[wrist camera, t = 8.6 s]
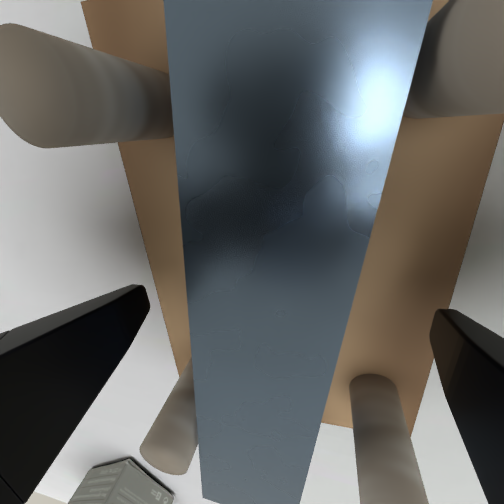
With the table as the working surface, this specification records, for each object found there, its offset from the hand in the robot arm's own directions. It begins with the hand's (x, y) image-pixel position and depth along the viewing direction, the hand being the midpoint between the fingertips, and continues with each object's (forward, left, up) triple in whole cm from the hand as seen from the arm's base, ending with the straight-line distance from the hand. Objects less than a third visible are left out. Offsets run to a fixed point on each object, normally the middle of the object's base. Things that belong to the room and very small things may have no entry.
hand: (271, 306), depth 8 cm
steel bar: (0, 0, -2) cm, 3 cm away
